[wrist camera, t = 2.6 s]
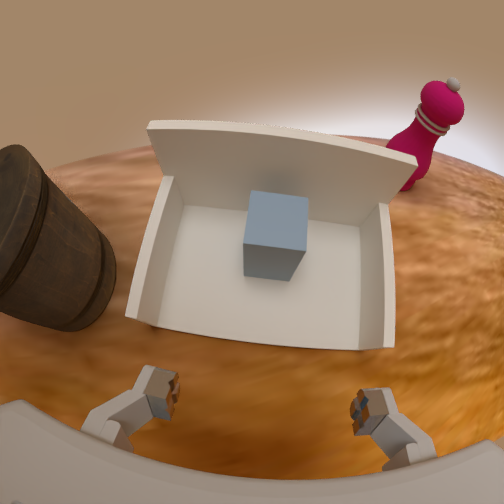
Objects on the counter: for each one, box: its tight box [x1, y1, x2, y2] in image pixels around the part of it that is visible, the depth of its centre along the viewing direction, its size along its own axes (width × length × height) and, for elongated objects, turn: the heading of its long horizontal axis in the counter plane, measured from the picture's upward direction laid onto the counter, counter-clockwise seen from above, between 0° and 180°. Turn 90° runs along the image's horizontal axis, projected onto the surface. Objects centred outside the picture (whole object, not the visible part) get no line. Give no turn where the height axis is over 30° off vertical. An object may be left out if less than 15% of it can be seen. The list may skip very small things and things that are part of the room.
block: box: [243, 190, 308, 281], centre depth 26 cm, size 5×5×9 cm
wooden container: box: [0, 145, 116, 332], centre depth 20 cm, size 15×15×22 cm
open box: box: [125, 120, 418, 350], centre depth 24 cm, size 24×16×14 cm, turn 83°
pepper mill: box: [386, 78, 464, 191], centre depth 28 cm, size 7×7×20 cm
